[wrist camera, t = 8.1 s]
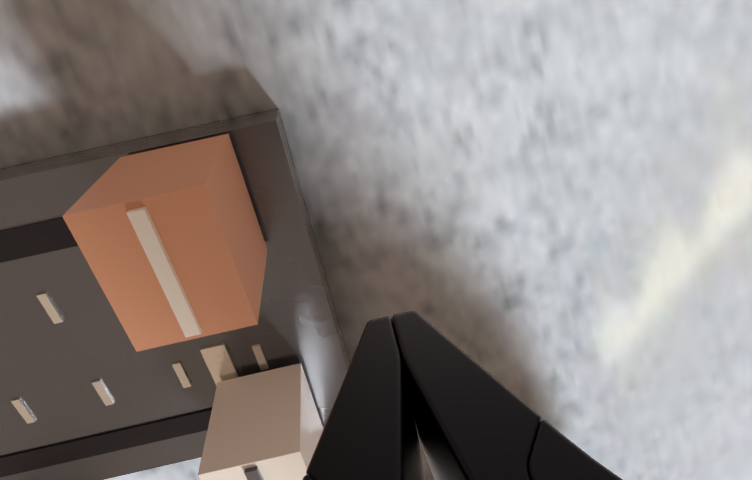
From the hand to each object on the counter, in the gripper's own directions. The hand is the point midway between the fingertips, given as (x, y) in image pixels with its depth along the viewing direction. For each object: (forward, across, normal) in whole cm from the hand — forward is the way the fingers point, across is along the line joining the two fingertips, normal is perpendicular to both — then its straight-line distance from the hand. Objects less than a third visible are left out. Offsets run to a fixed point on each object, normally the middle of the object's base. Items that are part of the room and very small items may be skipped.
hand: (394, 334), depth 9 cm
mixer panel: (+10, +11, +4) cm, 15 cm away
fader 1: (+8, +5, 0) cm, 9 cm away
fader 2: (+8, +5, +9) cm, 13 cm away
